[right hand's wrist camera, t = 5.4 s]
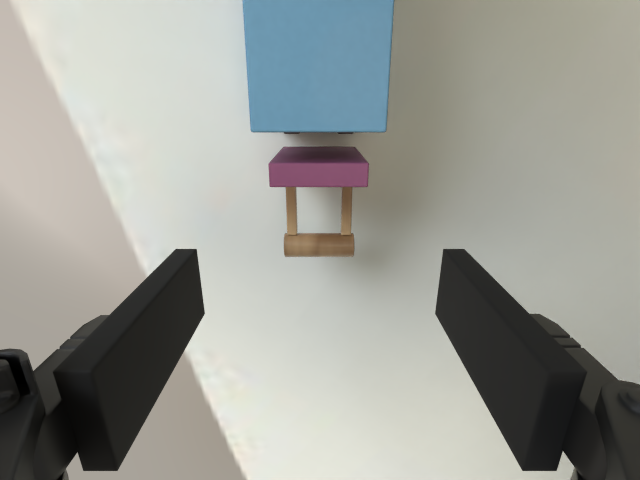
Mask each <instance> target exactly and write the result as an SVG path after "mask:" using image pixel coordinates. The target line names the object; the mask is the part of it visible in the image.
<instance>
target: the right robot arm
mask: <svg viewBox="0 0 640 480" xmlns="http://www.w3.org/2000/svg"><path fill="white" fill-rule="evenodd" d="M204 314H205V312H204V304H203V296H202V288H201V280H200V272H199V265H198V257H197V249H176V250H175V251H174V252H173V253H172V254H170V255H169V256H168V257H167V258H166V259H165V260H164V261H163V262H162V263H161V264H160V265H159V266H158V267H157V268H156V269H155V270H154V271H153V272H152V273H151V274H150V275H149V276H148V277H147V278H146V279H145V280H144V281H143V282H142V283H141V284H140V285H139V286H138V287H137V288H136V289H135V290H134V291H133V292H132V293H131V294H130V295H129V296H128V297H127V298H126V299H125V300H124V301H123V302H122V303H121V304H120V305H119V306H118V307H117V308H116V309H115V310H114V311H113V312H112V313H111V314H110V315H100V316H99V317H97V318H95V319H93V320H91V321H90V322H88V323H86V324H84V325H83V326H82V327H81V328H80V329H78V330H77V331H76V332H75V333H74V334H73V335H72V336H71V337H70V339H68V340H67V341H65V342H64V343H63V344H62V345H61V346H60V349H57V350H56V351H55V352H54V353H52V354H51V355H50V356H49V357H48V358H47V359H46V360H45V361H44V362H43V363H42V364H41V365H40V366H39V367H37V368H36V369H35V370H34V371H33V370H32V367H31V364H30V360H29V358H28V355H27V353H26V352H24V351H22V350H20V349H4V350H0V480H69V479H68V474H67V471H66V467H67V466H68V465H69V463H70V462H71V460H72V459H73V458H74V456H75V455H76V453H77V452H78V455H79V458H80V461H81V464H82V468H83V471H117V470H118V469H119V467H120V465H121V463H122V462H123V460H124V458H125V456H126V454H127V453H128V451H129V449H130V447H131V445H132V444H133V442H134V440H135V438H136V436H137V435H138V433H139V431H140V429H141V427H142V426H143V424H144V422H145V420H146V418H147V416H148V415H149V413H150V411H151V409H152V408H153V406H154V404H155V402H156V400H157V399H158V397H159V395H160V393H161V391H162V390H163V388H164V386H165V384H166V382H167V381H168V379H169V377H170V375H171V373H172V372H173V370H174V368H175V366H176V364H177V363H178V361H179V359H180V357H181V355H182V354H183V352H184V350H185V348H186V346H187V345H188V343H189V341H190V339H191V337H192V336H193V334H194V332H195V330H196V328H197V327H198V325H199V323H200V321H201V319H202V318H203V316H204ZM435 314H436V316H437V318H438V319H439V321H440V323H441V325H442V327H443V328H444V330H445V332H446V334H447V336H448V337H449V339H450V341H451V343H452V345H453V346H454V348H455V350H456V352H457V354H458V355H459V357H460V359H461V361H462V363H463V364H464V366H465V368H466V370H467V372H468V373H469V375H470V377H471V379H472V381H473V382H474V384H475V386H476V388H477V390H478V391H479V393H480V395H481V397H482V399H483V400H484V402H485V404H486V406H487V408H488V409H489V411H490V413H491V415H492V417H493V418H494V420H495V422H496V424H497V426H498V427H499V429H500V431H501V433H502V435H503V436H504V438H505V440H506V442H507V444H508V445H509V447H510V449H511V451H512V453H513V454H514V456H515V458H516V460H517V462H518V463H519V465H520V467H521V469H522V471H557V468H558V464H559V461H560V458H561V455H562V452H563V451H564V453H565V454H566V456H567V457H568V458H569V460H570V461H571V463H572V464H573V465H574V467H575V468H574V471H573V474H572V477H571V480H640V385H639V384H636V383H632V382H626V381H620V380H618V379H617V378H616V377H614V376H613V375H612V374H611V373H610V372H609V371H608V370H607V369H606V368H605V367H604V366H603V365H601V364H600V363H599V362H598V361H597V360H596V359H595V358H594V357H593V356H592V355H591V354H589V353H588V352H587V351H586V350H585V349H584V348H581V345H580V344H579V343H577V342H576V341H575V340H574V339H573V338H570V335H569V334H568V333H567V332H565V331H564V330H563V329H562V328H561V327H560V326H559V325H558V324H556V323H555V322H553V321H551V320H549V319H547V318H546V317H544V316H542V315H540V314H529V313H528V312H527V311H526V310H525V309H524V308H523V307H522V306H521V305H520V304H519V303H518V302H517V301H516V300H515V299H514V298H513V297H512V296H511V295H510V294H509V293H508V292H507V291H506V290H505V289H504V288H503V287H502V286H501V285H500V284H499V283H498V282H497V281H496V280H495V279H494V278H493V277H492V276H491V275H490V274H489V273H488V272H487V271H486V270H485V269H484V268H483V267H482V266H481V265H480V264H479V263H478V262H477V261H476V260H475V259H474V258H473V257H472V256H471V255H469V254H468V253H467V252H466V251H465V250H464V249H443V257H442V264H441V272H440V280H439V288H438V296H437V304H436V312H435Z"/></svg>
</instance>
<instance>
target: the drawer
mask: <svg viewBox="0 0 640 480" xmlns="http://www.w3.org/2000/svg"><path fill="white" fill-rule="evenodd" d="M284 133H285V134H299V133H300V132H284ZM337 133H339V134H352V133H354V132H337ZM368 171H369V163H368V162H367V161H366V160H365V159H364V157H363V156H362V155H361V154H360V152H359V151H358V150H357V149H356V148H355V147H283V148H282V149H281V150H280V152H279V153H278V154H277V155H276V156H275V157H274V158H273V159H272V160H271V162H270V163H269V182H270V187H286V207H287V233H285V235H284V255H285V257H353V256H354V235H353V233H351V212H352V187H367V186H368ZM296 187H342V202H341V233H297V195H296Z"/></svg>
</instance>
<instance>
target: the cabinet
mask: <svg viewBox="0 0 640 480" xmlns="http://www.w3.org/2000/svg"><path fill="white" fill-rule="evenodd" d="M393 11H394V0H243V14H244V30H245V46H246V61H247V77H248V93H249V109H250V124H251V131H252V132H386V127H387V110H388V94H389V77H390V61H391V44H392V28H393Z"/></svg>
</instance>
